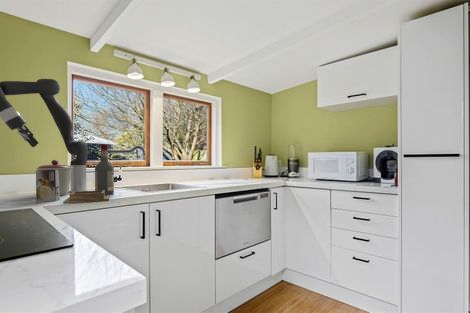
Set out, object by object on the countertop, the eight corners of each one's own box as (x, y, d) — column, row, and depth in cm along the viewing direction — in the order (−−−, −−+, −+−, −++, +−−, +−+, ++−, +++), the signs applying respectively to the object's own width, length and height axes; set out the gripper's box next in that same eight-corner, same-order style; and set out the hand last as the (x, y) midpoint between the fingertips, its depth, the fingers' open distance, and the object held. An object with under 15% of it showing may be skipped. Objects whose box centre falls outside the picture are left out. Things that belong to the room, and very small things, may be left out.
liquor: (94, 196, 160) (93, 144, 160) (98, 194, 169) (98, 144, 169) (111, 195, 162) (110, 144, 162) (114, 193, 170) (114, 144, 171)
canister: (78, 194, 166) (78, 159, 166) (44, 198, 151) (44, 160, 151) (64, 192, 176) (63, 159, 177) (30, 196, 162) (30, 160, 162)
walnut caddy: (68, 198, 149) (68, 191, 149) (109, 196, 157) (109, 189, 157) (63, 203, 135) (63, 195, 135) (108, 200, 142) (108, 192, 142)
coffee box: (60, 199, 148) (60, 169, 148) (56, 201, 142) (55, 169, 142) (40, 200, 146) (40, 169, 146) (35, 202, 140) (35, 170, 140)
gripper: (21, 111, 135) (44, 139, 140) (19, 117, 145) (41, 143, 151) (5, 119, 130) (29, 148, 136) (3, 124, 141) (27, 151, 146)
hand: (35, 145), depth 143 cm, fingers open, 8 cm apart
